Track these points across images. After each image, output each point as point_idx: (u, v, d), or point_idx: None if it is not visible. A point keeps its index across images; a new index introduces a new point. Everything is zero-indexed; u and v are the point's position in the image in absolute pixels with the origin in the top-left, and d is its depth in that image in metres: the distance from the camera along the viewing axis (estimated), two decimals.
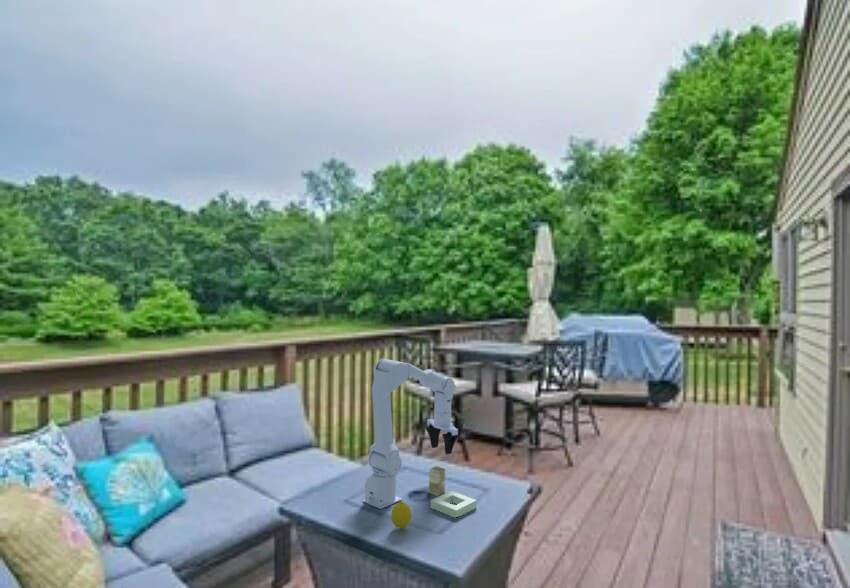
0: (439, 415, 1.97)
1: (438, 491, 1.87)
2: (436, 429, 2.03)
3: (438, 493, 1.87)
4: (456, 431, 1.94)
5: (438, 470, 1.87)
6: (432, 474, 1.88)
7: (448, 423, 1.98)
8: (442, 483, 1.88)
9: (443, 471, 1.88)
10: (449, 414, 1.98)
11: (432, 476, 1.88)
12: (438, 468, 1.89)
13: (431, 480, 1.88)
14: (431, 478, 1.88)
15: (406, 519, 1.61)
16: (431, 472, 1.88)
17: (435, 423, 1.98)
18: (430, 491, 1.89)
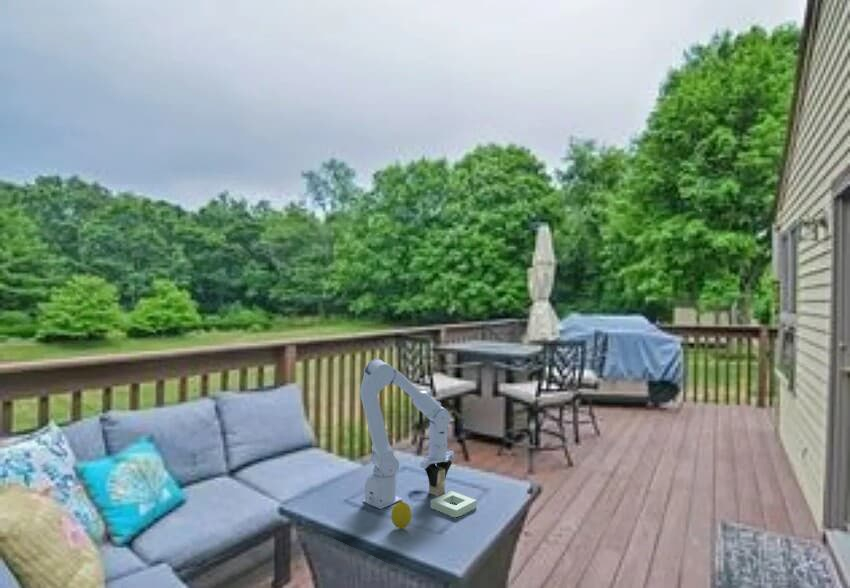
0: None
1: (438, 491, 1.87)
2: (442, 464, 1.90)
3: (438, 493, 1.87)
4: (423, 464, 1.83)
5: None
6: None
7: (433, 456, 1.86)
8: (442, 483, 1.88)
9: (443, 471, 1.88)
10: (434, 447, 1.86)
11: None
12: None
13: None
14: None
15: (406, 519, 1.61)
16: None
17: None
18: (430, 491, 1.89)
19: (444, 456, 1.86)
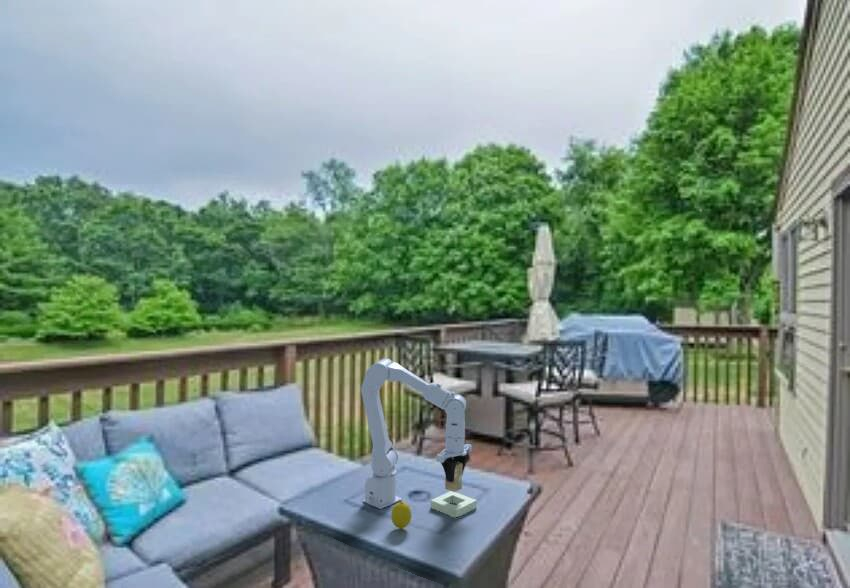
0: None
1: (455, 487, 1.76)
2: (459, 457, 1.79)
3: (455, 489, 1.76)
4: (440, 458, 1.72)
5: None
6: None
7: (450, 449, 1.75)
8: (459, 478, 1.77)
9: (460, 465, 1.77)
10: (452, 439, 1.74)
11: None
12: None
13: None
14: None
15: (406, 519, 1.61)
16: None
17: None
18: (446, 487, 1.77)
19: (462, 449, 1.75)
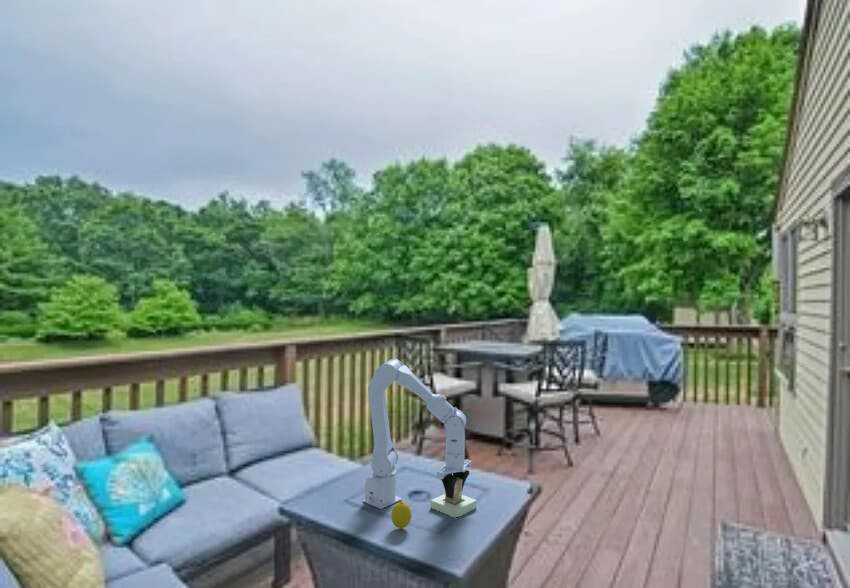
0: None
1: (455, 503, 1.76)
2: (459, 473, 1.79)
3: None
4: (440, 474, 1.72)
5: None
6: None
7: (450, 465, 1.75)
8: (459, 494, 1.77)
9: (460, 481, 1.77)
10: (451, 456, 1.74)
11: None
12: None
13: None
14: None
15: (406, 519, 1.61)
16: None
17: None
18: None
19: (462, 466, 1.75)
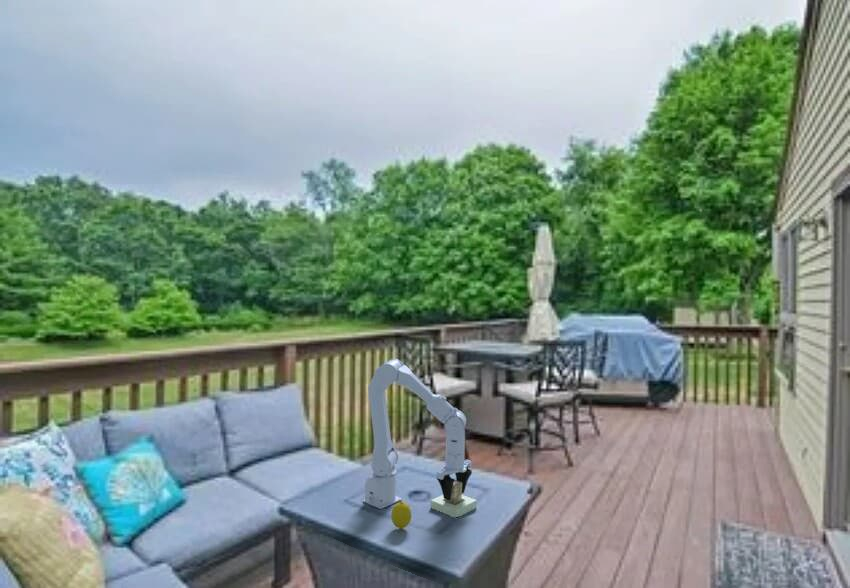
0: None
1: None
2: (462, 473, 1.80)
3: None
4: (440, 475, 1.72)
5: (455, 484, 1.76)
6: None
7: (450, 466, 1.75)
8: (459, 498, 1.77)
9: (460, 485, 1.77)
10: (451, 456, 1.74)
11: None
12: (454, 482, 1.78)
13: None
14: None
15: (406, 519, 1.61)
16: None
17: None
18: None
19: (462, 466, 1.75)
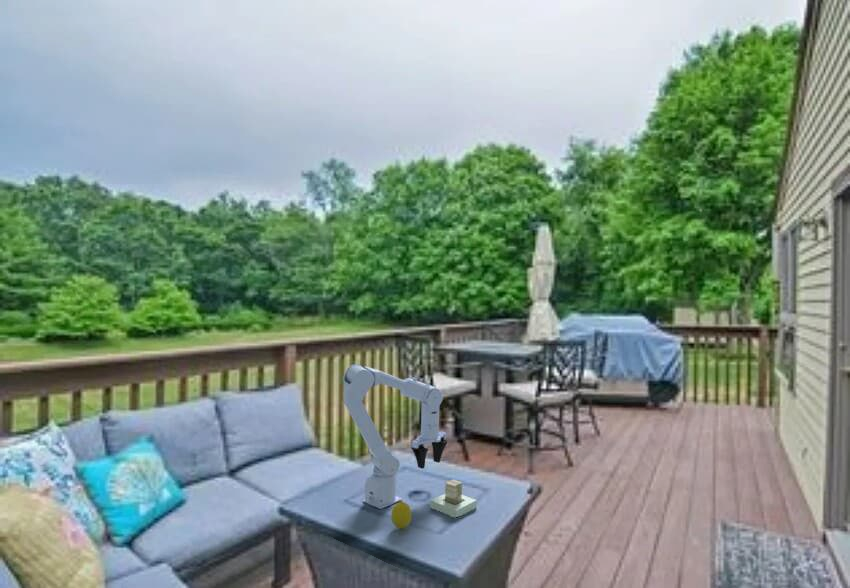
0: None
1: None
2: (438, 443, 1.90)
3: None
4: (415, 444, 1.82)
5: (455, 484, 1.76)
6: (449, 488, 1.77)
7: (425, 436, 1.85)
8: (459, 498, 1.77)
9: (460, 485, 1.77)
10: (426, 427, 1.85)
11: (448, 490, 1.77)
12: (454, 482, 1.78)
13: (447, 494, 1.77)
14: (448, 492, 1.77)
15: (406, 519, 1.61)
16: (447, 486, 1.77)
17: None
18: None
19: (436, 436, 1.86)
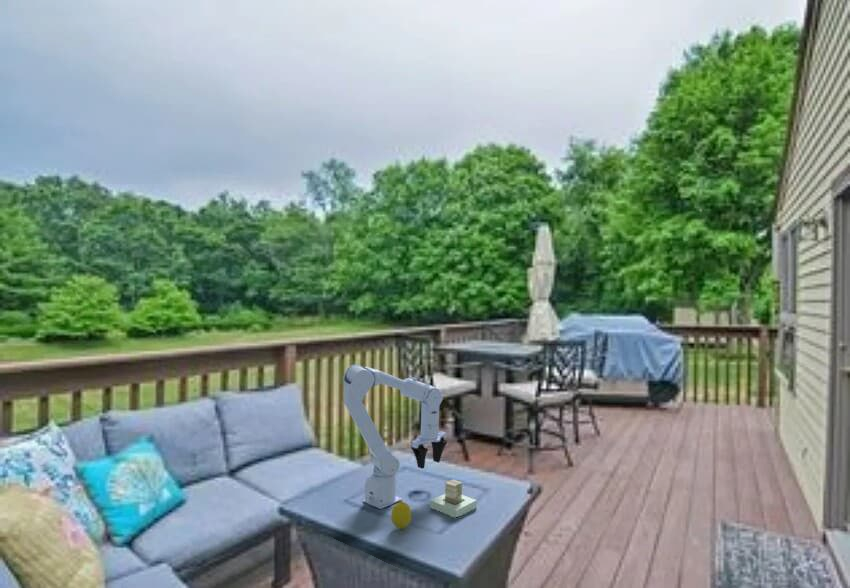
0: None
1: None
2: (437, 443, 1.90)
3: None
4: (415, 444, 1.82)
5: (455, 484, 1.76)
6: (449, 488, 1.77)
7: (424, 436, 1.85)
8: (459, 498, 1.77)
9: (460, 485, 1.77)
10: (426, 427, 1.85)
11: (448, 490, 1.77)
12: (454, 482, 1.78)
13: (447, 494, 1.77)
14: (448, 492, 1.77)
15: (406, 519, 1.61)
16: (447, 486, 1.77)
17: None
18: None
19: (436, 436, 1.86)
